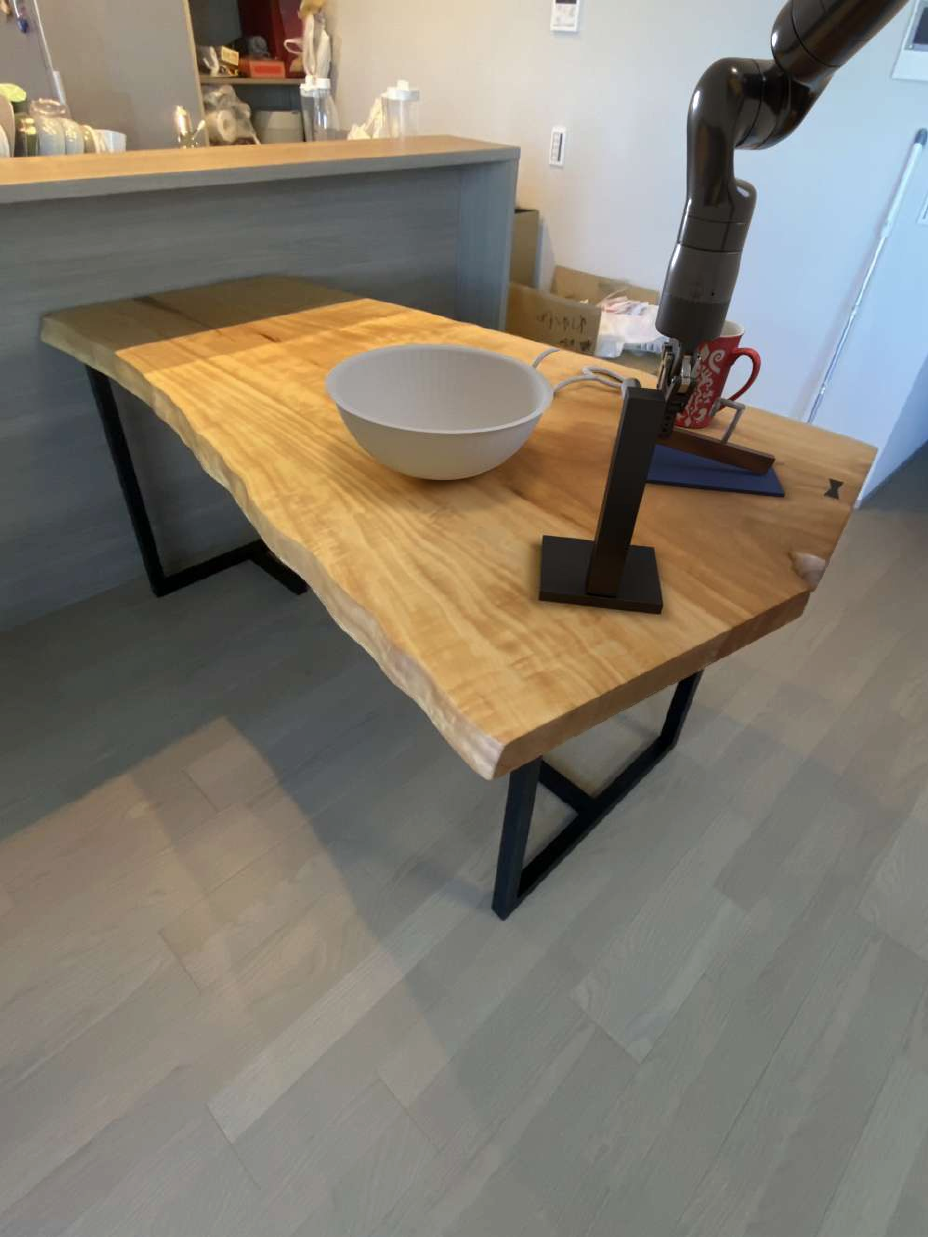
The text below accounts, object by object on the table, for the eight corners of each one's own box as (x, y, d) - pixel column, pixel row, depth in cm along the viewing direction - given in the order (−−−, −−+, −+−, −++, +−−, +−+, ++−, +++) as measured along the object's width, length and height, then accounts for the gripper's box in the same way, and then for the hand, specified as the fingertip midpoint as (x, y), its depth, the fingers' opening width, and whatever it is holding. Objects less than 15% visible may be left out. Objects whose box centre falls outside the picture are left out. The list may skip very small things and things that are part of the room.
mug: (644, 415, 103) (666, 322, 94) (675, 400, 108) (699, 310, 99) (720, 446, 97) (751, 348, 88) (750, 428, 102) (782, 334, 93)
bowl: (378, 535, 75) (375, 450, 69) (303, 430, 93) (296, 356, 87) (584, 488, 85) (599, 411, 79) (481, 403, 103) (486, 334, 97)
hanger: (764, 471, 90) (795, 417, 85) (766, 475, 89) (798, 421, 84) (640, 435, 89) (665, 379, 84) (641, 439, 88) (666, 383, 83)
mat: (765, 456, 95) (766, 453, 94) (784, 497, 86) (785, 493, 86) (619, 441, 96) (620, 438, 96) (624, 480, 88) (624, 476, 87)
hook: (505, 386, 107) (596, 383, 118) (543, 408, 102) (635, 403, 112) (516, 337, 103) (609, 339, 114) (555, 358, 97) (650, 358, 108)
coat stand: (651, 553, 75) (705, 360, 62) (660, 614, 67) (725, 408, 54) (541, 541, 76) (571, 347, 62) (538, 600, 68) (571, 392, 54)
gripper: (743, 310, 71) (697, 462, 82) (721, 276, 82) (683, 415, 93) (670, 303, 72) (634, 456, 83) (658, 270, 82) (627, 409, 93)
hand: (660, 434), depth 88 cm, fingers closed on hanger, 1 cm apart
